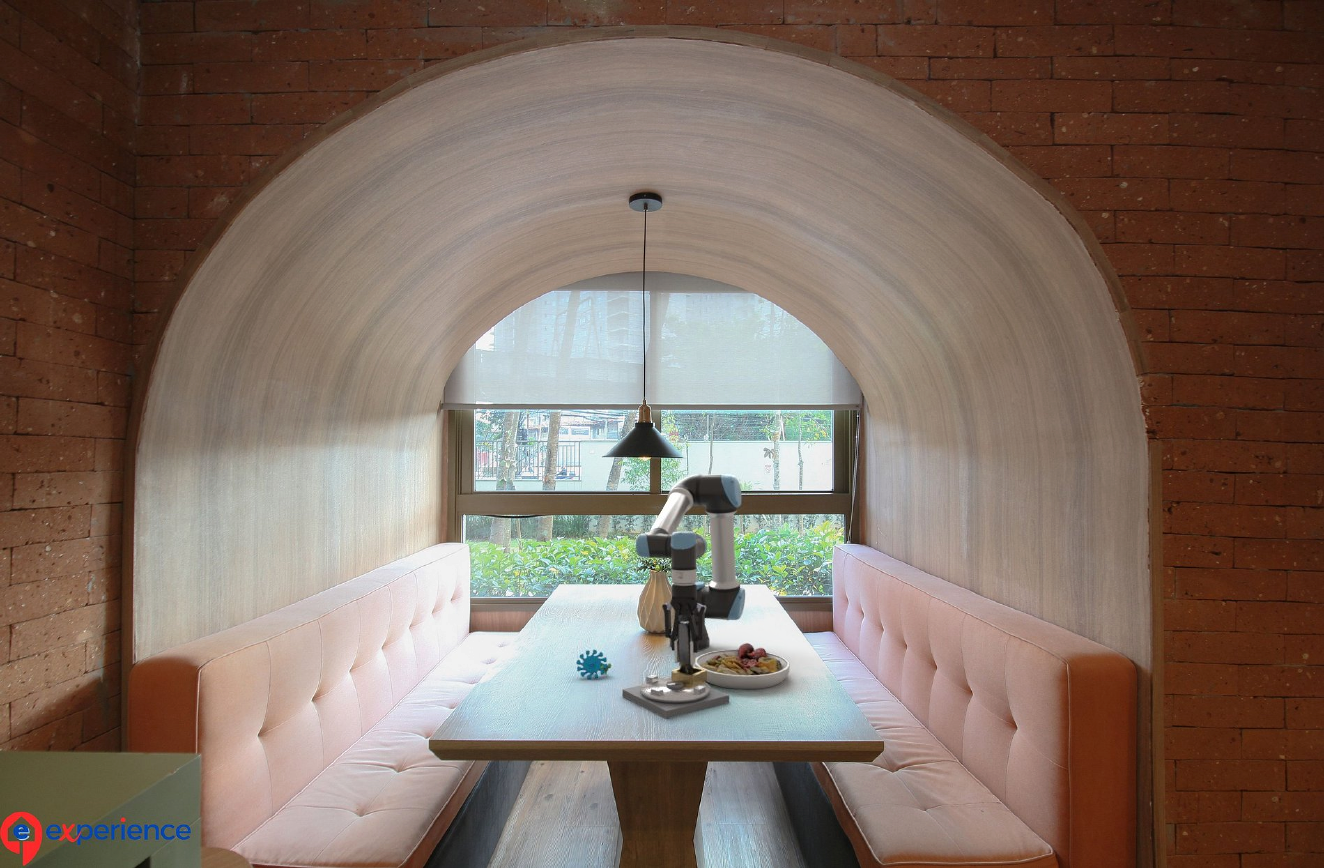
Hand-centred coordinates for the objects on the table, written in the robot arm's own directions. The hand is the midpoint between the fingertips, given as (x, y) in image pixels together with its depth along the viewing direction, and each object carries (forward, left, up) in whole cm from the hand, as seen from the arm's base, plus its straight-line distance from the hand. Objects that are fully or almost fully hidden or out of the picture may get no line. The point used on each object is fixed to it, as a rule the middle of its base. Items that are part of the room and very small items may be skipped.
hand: (685, 662), depth 202 cm
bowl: (-24, -2, -9) cm, 26 cm away
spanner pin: (0, 0, -4) cm, 4 cm away
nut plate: (+6, +3, -9) cm, 11 cm away
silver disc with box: (+6, +3, -6) cm, 9 cm away
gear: (+14, -30, -9) cm, 34 cm away
